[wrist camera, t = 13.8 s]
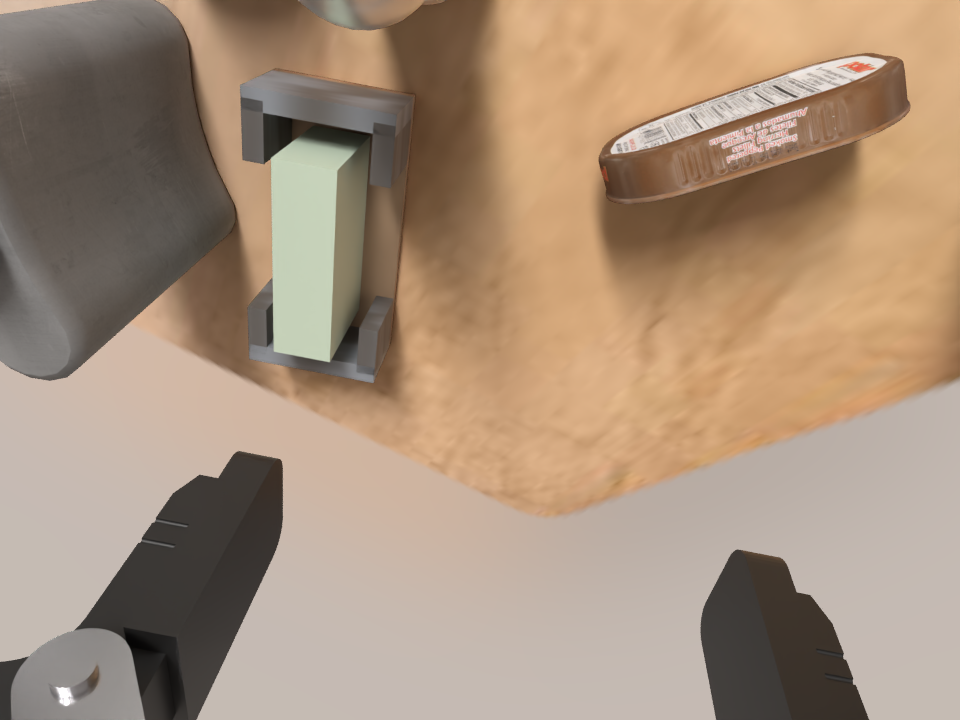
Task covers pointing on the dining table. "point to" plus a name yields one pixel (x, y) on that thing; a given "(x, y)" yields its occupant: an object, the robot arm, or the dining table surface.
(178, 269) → the flask
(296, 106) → the cradle
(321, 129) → the slat
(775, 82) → the tin
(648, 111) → the dining table surface
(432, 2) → the plastic bottle
